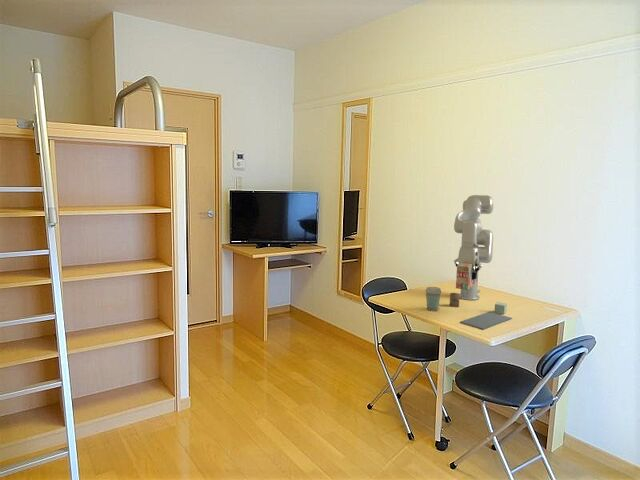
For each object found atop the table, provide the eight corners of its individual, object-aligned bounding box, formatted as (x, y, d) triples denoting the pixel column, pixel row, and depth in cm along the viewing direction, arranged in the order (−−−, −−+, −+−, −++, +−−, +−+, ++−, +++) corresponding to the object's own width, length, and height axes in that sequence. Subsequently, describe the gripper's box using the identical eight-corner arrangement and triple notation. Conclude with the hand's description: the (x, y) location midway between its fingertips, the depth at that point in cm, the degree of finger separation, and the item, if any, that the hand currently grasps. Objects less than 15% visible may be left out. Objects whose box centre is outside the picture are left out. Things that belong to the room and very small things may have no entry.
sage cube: (496, 310, 248) (497, 302, 248) (506, 312, 246) (507, 303, 245) (494, 313, 244) (494, 304, 244) (503, 314, 242) (504, 305, 241)
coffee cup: (428, 306, 255) (429, 285, 254) (443, 309, 250) (444, 288, 248) (421, 309, 249) (422, 288, 247) (436, 312, 243) (437, 291, 242)
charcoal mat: (488, 312, 244) (489, 311, 244) (511, 318, 234) (512, 317, 234) (459, 322, 227) (460, 321, 227) (483, 329, 217) (483, 328, 217)
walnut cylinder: (453, 304, 260) (453, 292, 259) (460, 306, 257) (461, 294, 256) (447, 305, 257) (448, 293, 256) (455, 307, 254) (456, 295, 252)
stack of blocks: (465, 280, 252) (467, 258, 250) (477, 281, 249) (478, 259, 247) (455, 288, 234) (456, 265, 232) (467, 290, 230) (469, 266, 229)
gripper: (487, 246, 233) (485, 279, 236) (458, 242, 246) (457, 273, 249) (479, 248, 228) (477, 282, 231) (450, 243, 242) (448, 275, 244)
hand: (466, 277), depth 240 cm, fingers closed on stack of blocks, 7 cm apart
